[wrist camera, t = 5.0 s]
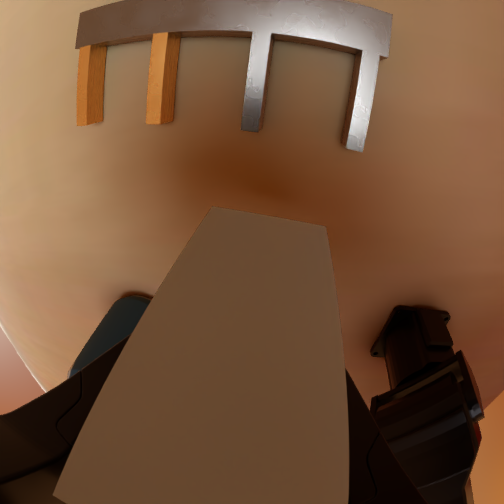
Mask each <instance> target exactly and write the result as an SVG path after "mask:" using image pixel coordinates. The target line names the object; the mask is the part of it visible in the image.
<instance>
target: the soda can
mask: <svg viewBox="0 0 504 504" xmlns="http://www.w3.org/2000/svg"><path fill="white" fill-rule="evenodd" d="M150 302H151V299H149V298H147V297H144V296H139V295H133V296H129V297H125V298H122V299H119V300H117V301H116V302H115V303H114V304H113V306H112V307H111V308H110V310H109V311H108V313H107V314H106V315H105V317H104V318H103V320H102V321H101V323H100V324H99V325H98V327H97V328H96V330H95V331H94V333H93V334H92V336H91V337H90V339H89V340H88V342H87V343H86V345H85V346H84V348H83V349H82V351H81V352H80V354H79V355H78V357H77V359H76V360H75V362H74V363H73V365H72V366H71V368H70V370H69V371H68V378H70V377H71V376H73V375H74V374H75V373H77V372H78V371H81V370H82V369H83V368H84V367H85V366H87V365H88V364H90V363H91V362H92V361H94V360H95V359H96V358H98V357H99V356H101V355H102V354H103V353H105V352H106V351H108V350H109V349H110V348H112V347H113V346H114V345H116V344H117V343H119V342H120V341H121V340H123V339H124V338H126V337H127V336H128V335H130V334H131V333H133V331H134V329H135V327H136V326H137V324H138V322H139V321H140V319H141V317H142V315H143V314H144V312H145V310H146V309H147V307H148V305H149V304H150ZM68 378H67V379H68Z"/></svg>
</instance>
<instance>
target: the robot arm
mask: <svg viewBox="0 0 504 504" xmlns="http://www.w3.org/2000/svg"><path fill="white" fill-rule="evenodd" d="M399 311H400V312H399ZM449 320H450V314H449V313H448V312H441V311H434V310H426V309H418V308H411V307H403V306H398V307H396V308H395V309H394V310H393V312H392V314H391V316H390V318H389V320H388V321H387V323H386V325H385V327H384V329H383V330H382V332H381V334H380V335H379V337H378V339H377V341H376V342H375V344H374V346H373V347H372V349H371V351H370V352H371V356H373V357H385V362H386V367H387V372H388V378H389V383H390V389H391V390H390V391H388V392H386V393H383V394H381V395H379V396H378V395H377V396H374V397H372V399H371V407H370V411H369V409H368V407H367V405H366V404H365V402H364V400H363V398H362V396H361V395H360V393H359V391H358V389H357V388H356V386H355V384H354V382H353V380H352V379H351V377H350V375H349V373H348V372H347V370H346V368H345V374H346V387H347V404H348V427H349V495H348V504H474V500H473V493H472V487H471V480H470V474H471V471H472V468H473V465H474V462H475V459H476V456H477V453H478V450H479V446H480V442H481V439H482V436H481V431H480V427H479V424H478V421H480V420H481V419H483V418H484V412H483V406H482V402H481V397H480V393H479V389H478V386H477V383H476V381H475V378H474V375H473V373H472V370H471V368H470V366H469V364H468V362H467V360H466V358H465V356H464V355H463V353H462V351H461V350H460V351H458V352H456V354H454V351H453V349H452V346H453V341H452V338H451V336H450V334H449V331H448V329H447V327H446V324H447V323H448V321H449ZM131 334H132V333H131ZM131 334H130V335H128V336H127V337H126V338H124V339H123V340H121V341H120V342H119V343H117V344H116V345H114V346H113V347H112V348H110V349H109V350H108V351H106V352H105V353H103V354H102V355H101V356H99V357H98V358H96V359H95V360H94V361H92V362H91V363H90V364H88V365H87V366H85V367H84V368H83V369H82V370H81V371H78V372H77V373H75V374H74V375H73V376H71V377H70V378H68V379H67V380H66V381H64V382H63V383H61V384H60V385H58V386H57V387H55V388H53V389H52V390H50V391H48V392H47V393H45V394H43V395H41V396H40V397H38V398H36V399H34V400H32V401H31V402H29V403H27V404H25V405H23V406H21V407H20V408H18V409H16V410H14V411H12V412H9V413H7V414H3V415H0V504H66V503H65V502H63V501H61V500H60V499H58V498H57V497H55V496H53V493H54V490H55V488H56V485H57V483H58V480H59V478H60V476H61V473H62V471H63V469H64V466H65V464H66V462H67V459H68V457H69V455H70V453H71V450H72V448H73V446H74V444H75V442H76V440H77V437H78V435H79V433H80V431H81V429H82V427H83V425H84V423H85V421H86V419H87V417H88V415H89V413H90V411H91V409H92V407H93V405H94V403H95V401H96V399H97V397H98V395H99V393H100V391H101V389H102V387H103V385H104V383H105V381H106V380H107V378H108V376H109V374H110V372H111V370H112V368H113V367H114V365H115V363H116V361H117V359H118V357H119V356H120V354H121V352H122V350H123V348H124V347H125V345H126V343H127V341H128V340H129V338H130V336H131Z"/></svg>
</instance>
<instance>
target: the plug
mask: <svg viewBox="0 0 504 504" xmlns="http://www.w3.org/2000/svg"><path fill="white" fill-rule="evenodd" d="M348 495H349V427H348V404H347V387H346V374H345V362H344V351H343V341H342V331H341V323H340V314H339V306H338V299H337V291H336V284H335V278H334V271H333V265H332V258H331V252H330V247H329V241H328V235H327V230H326V226H321V225H316V224H311V223H306V222H301V221H295V220H290V219H285V218H279V217H273V216H268V215H262V214H256V213H251V212H245V211H239V210H233V209H227V208H220V207H214V206H212V208H211V209H210V210H209V212H208V213H207V215H206V216H205V218H204V219H203V221H202V222H201V224H200V225H199V227H198V228H197V230H196V231H195V233H194V234H193V236H192V237H191V239H190V240H189V242H188V243H187V245H186V246H185V248H184V249H183V251H182V252H181V254H180V256H179V257H178V259H177V260H176V262H175V263H174V265H173V266H172V268H171V270H170V271H169V273H168V274H167V276H166V278H165V279H164V281H163V282H162V284H161V286H160V287H159V289H158V291H157V292H156V294H155V295H154V297H153V299H152V300H151V302H150V304H149V305H148V307H147V309H146V310H145V312H144V314H143V315H142V317H141V319H140V321H139V322H138V324H137V326H136V327H135V329H134V331H133V333H132V334H131V336H130V338H129V340H128V341H127V343H126V345H125V347H124V348H123V350H122V352H121V354H120V356H119V357H118V359H117V361H116V363H115V365H114V367H113V368H112V370H111V372H110V374H109V376H108V378H107V380H106V381H105V383H104V385H103V387H102V389H101V391H100V393H99V395H98V397H97V399H96V401H95V403H94V405H93V407H92V409H91V411H90V413H89V415H88V417H87V419H86V421H85V423H84V425H83V427H82V429H81V431H80V433H79V435H78V437H77V440H76V442H75V444H74V446H73V448H72V450H71V453H70V455H69V457H68V459H67V462H66V464H65V466H64V469H63V471H62V473H61V476H60V478H59V480H58V483H57V485H56V488H55V490H54V493H53V496H55V497H57V498H58V499H60V500H61V501H63V502H65V503H66V504H348Z"/></svg>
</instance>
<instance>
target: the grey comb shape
mask: <svg viewBox="0 0 504 504" xmlns="http://www.w3.org/2000/svg"><path fill="white" fill-rule="evenodd" d="M392 15H393V14H390V13H387V12H384V11H381V10H378V9H374V8H371V7H367V6H364V5H360V4H357V3H353V2H349V1H344V0H123V1H119V2H115V3H112V4H108V5H104V6H101V7H97V8H94V9H91V10H88V11H85V12H82V13H80V18H79V24H78V31H77V38H76V47H75V49H80V54H79V65H78V81H77V126H85V125H90V124H93V123H97V122H101V121H103V91H104V73H105V61H106V50H107V46H112V45H118V44H124V43H130V42H137V41H144V40H152V47H151V57H150V67H149V79H148V93H147V112H146V124H163V123H166V122H170V121H173V114H174V99H175V86H176V75H177V65H178V56H179V47H180V39H181V37H198V36H227V37H249V38H252V41H251V48H250V56H249V64H248V72H247V80H246V88H245V97H244V105H243V114H242V123H241V130H244V131H252V132H259V131H260V130H261V129H262V127H263V119H264V111H265V104H266V96H267V89H268V81H269V73H270V66H271V58H272V51H273V43H274V40H281V41H289V42H296V43H302V44H308V45H314V46H319V47H324V48H329V49H334V50H338V51H343V52H347V53H351V54H355V63H354V70H353V76H352V83H351V89H350V95H349V101H348V107H347V113H346V118H345V124H344V129H343V134H342V139H341V143H342V145H343V146H344V147H345V148H347V149H351V150H355V151H359V152H363V148H364V143H365V138H366V133H367V128H368V123H369V118H370V113H371V108H372V102H373V96H374V90H375V84H376V78H377V71H378V64H379V61H381V60H383V59H386V58H388V54H389V46H390V37H391V27H392Z"/></svg>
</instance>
